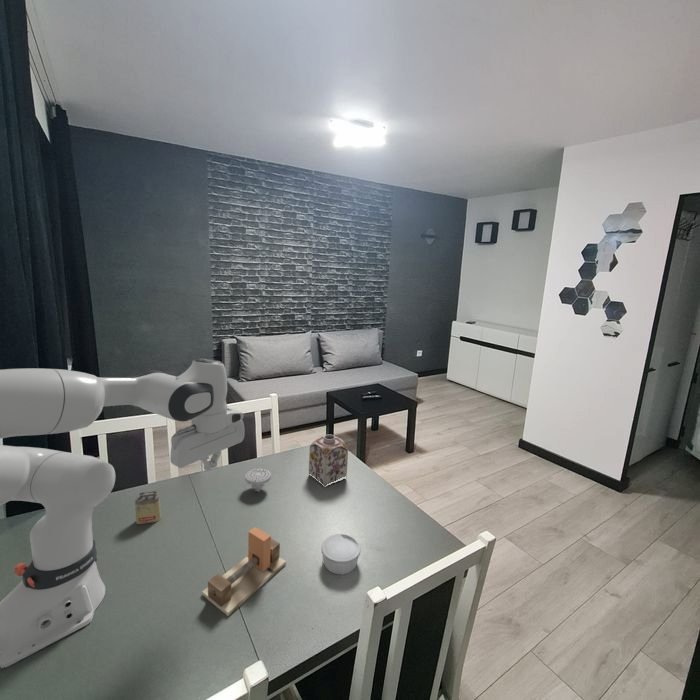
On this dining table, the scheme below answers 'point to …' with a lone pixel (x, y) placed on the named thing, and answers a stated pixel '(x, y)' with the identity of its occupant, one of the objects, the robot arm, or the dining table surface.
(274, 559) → the rod stand
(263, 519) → the dining table surface
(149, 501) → the lighter
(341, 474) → the decorative jar
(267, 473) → the showerhead
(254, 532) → the collar
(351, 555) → the ramekin
